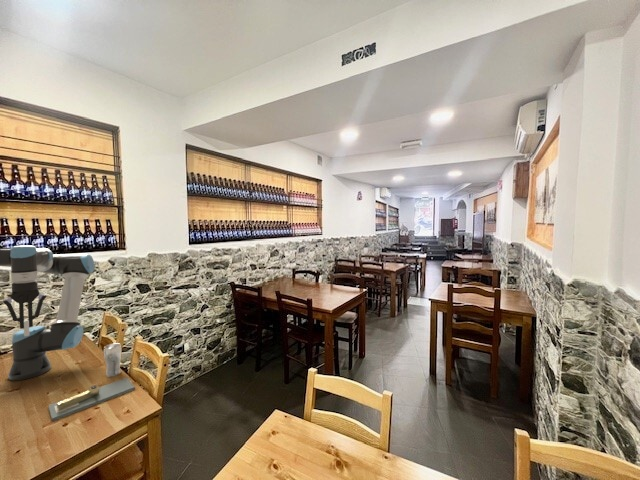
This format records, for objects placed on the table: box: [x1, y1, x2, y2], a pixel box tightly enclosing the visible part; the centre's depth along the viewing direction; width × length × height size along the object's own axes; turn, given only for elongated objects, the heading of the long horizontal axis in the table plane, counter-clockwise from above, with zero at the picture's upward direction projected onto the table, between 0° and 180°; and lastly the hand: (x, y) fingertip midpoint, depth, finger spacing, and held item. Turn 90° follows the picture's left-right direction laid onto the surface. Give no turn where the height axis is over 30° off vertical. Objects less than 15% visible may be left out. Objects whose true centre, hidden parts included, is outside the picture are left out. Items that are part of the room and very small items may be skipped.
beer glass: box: [103, 342, 122, 378], centre depth 140 cm, size 7×7×15 cm
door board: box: [48, 377, 136, 422], centre depth 121 cm, size 12×28×1 cm, turn 140°
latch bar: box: [57, 385, 100, 410], centre depth 116 cm, size 4×14×4 cm, turn 148°
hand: (26, 335), depth 117 cm, fingers closed
